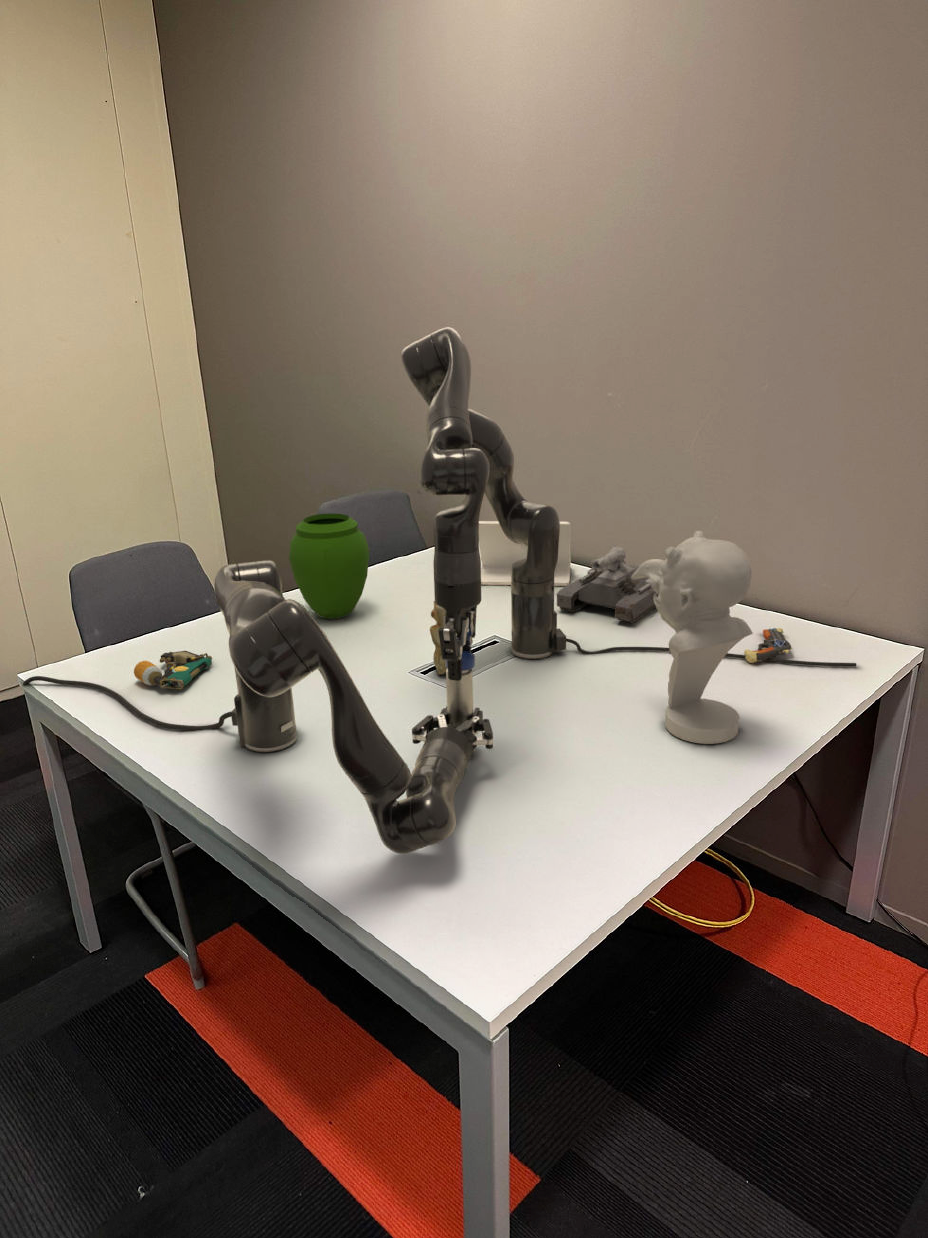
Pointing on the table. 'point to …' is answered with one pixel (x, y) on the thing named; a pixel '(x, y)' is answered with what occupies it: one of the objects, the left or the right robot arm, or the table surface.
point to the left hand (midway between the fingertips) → (463, 711)
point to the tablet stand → (516, 554)
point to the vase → (329, 563)
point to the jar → (460, 699)
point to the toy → (610, 589)
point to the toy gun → (769, 646)
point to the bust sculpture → (699, 629)
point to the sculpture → (434, 631)
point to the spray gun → (172, 669)
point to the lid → (466, 660)
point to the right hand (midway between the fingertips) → (459, 672)
